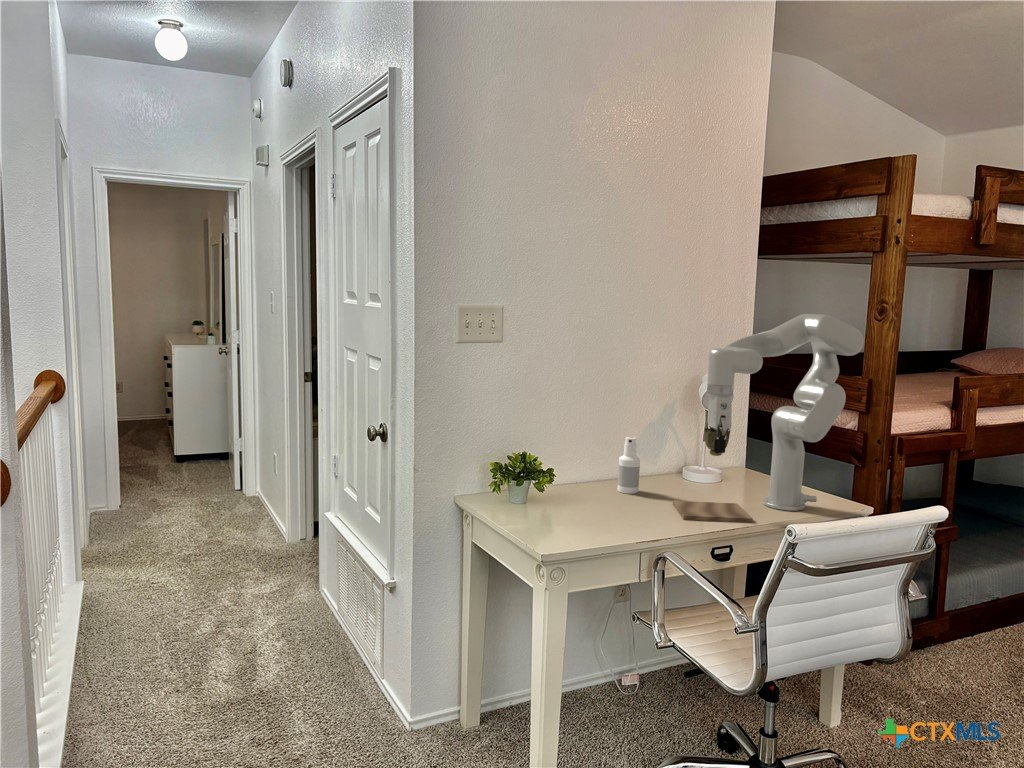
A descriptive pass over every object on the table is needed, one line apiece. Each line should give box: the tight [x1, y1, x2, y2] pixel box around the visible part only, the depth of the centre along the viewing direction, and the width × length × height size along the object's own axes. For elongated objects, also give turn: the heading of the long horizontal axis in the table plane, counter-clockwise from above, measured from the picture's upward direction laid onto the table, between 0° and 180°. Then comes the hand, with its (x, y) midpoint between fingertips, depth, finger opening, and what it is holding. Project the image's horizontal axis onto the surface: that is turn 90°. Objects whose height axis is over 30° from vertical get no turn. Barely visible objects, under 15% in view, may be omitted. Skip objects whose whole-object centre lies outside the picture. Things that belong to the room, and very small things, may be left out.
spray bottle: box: [616, 436, 641, 495], centre depth 250 cm, size 7×7×18 cm
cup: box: [704, 426, 732, 457], centre depth 226 cm, size 8×7×8 cm
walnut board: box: [672, 500, 754, 523], centre depth 229 cm, size 20×16×1 cm
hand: (716, 449), depth 226 cm, fingers closed on cup, 6 cm apart
